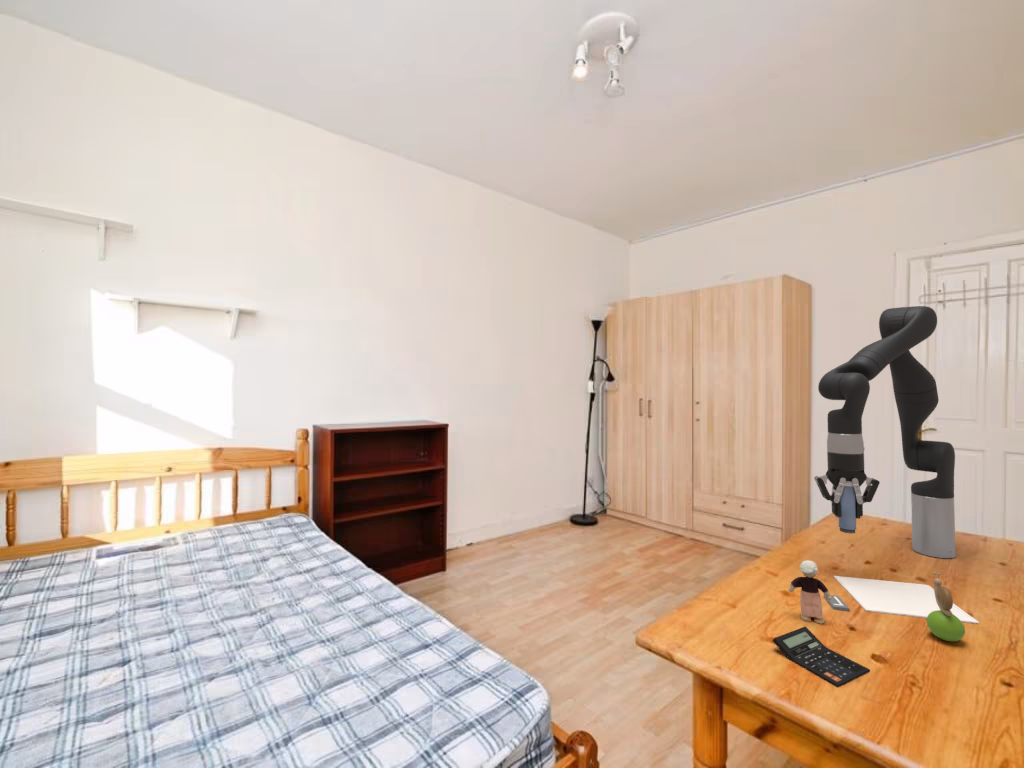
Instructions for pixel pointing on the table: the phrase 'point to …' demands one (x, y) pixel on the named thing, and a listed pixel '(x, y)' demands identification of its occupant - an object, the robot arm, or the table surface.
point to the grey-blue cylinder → (848, 509)
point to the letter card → (837, 603)
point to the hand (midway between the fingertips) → (847, 516)
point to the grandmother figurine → (810, 592)
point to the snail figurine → (944, 615)
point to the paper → (897, 598)
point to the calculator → (818, 657)
